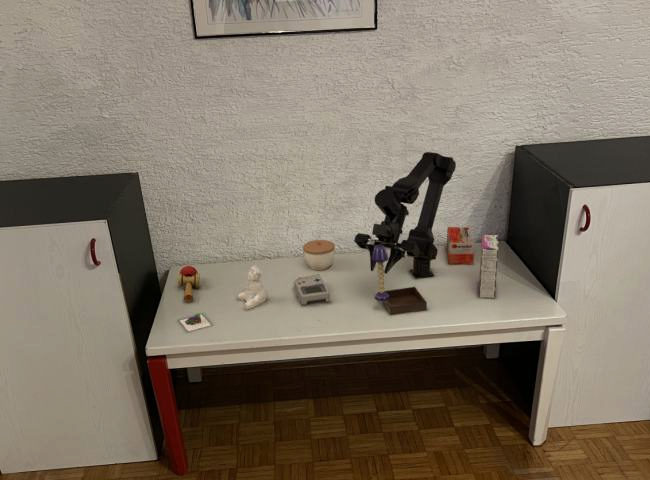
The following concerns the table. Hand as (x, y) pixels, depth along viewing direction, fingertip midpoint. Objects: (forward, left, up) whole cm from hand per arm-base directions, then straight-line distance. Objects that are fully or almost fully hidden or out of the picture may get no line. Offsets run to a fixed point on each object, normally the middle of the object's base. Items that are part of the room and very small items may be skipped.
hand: (378, 272), depth 200 cm
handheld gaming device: (-17, -17, -13) cm, 28 cm away
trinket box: (-38, -10, -13) cm, 42 cm away
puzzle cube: (-9, -54, -13) cm, 56 cm away
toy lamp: (-1, +1, -9) cm, 9 cm away
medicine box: (-32, +38, -13) cm, 51 cm away
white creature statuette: (-18, -35, -13) cm, 42 cm away
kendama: (-32, -55, -13) cm, 65 cm away
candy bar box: (-4, +36, -13) cm, 39 cm away
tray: (-3, +8, -13) cm, 16 cm away
